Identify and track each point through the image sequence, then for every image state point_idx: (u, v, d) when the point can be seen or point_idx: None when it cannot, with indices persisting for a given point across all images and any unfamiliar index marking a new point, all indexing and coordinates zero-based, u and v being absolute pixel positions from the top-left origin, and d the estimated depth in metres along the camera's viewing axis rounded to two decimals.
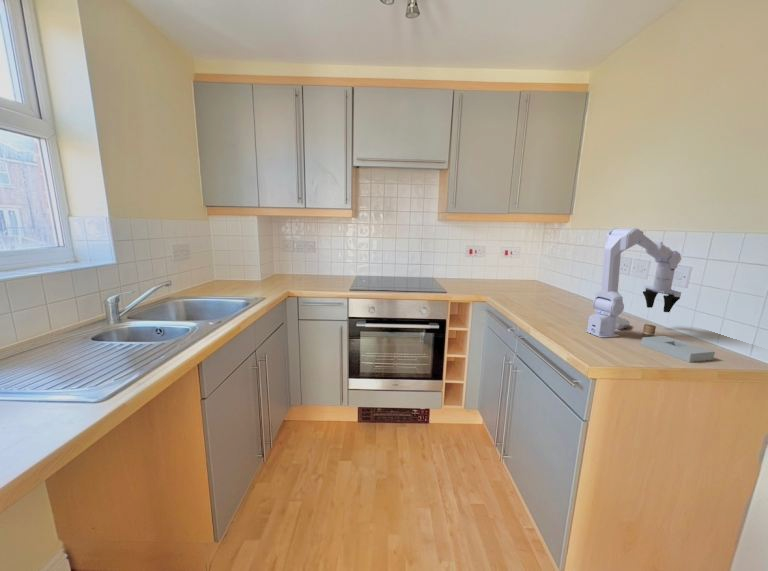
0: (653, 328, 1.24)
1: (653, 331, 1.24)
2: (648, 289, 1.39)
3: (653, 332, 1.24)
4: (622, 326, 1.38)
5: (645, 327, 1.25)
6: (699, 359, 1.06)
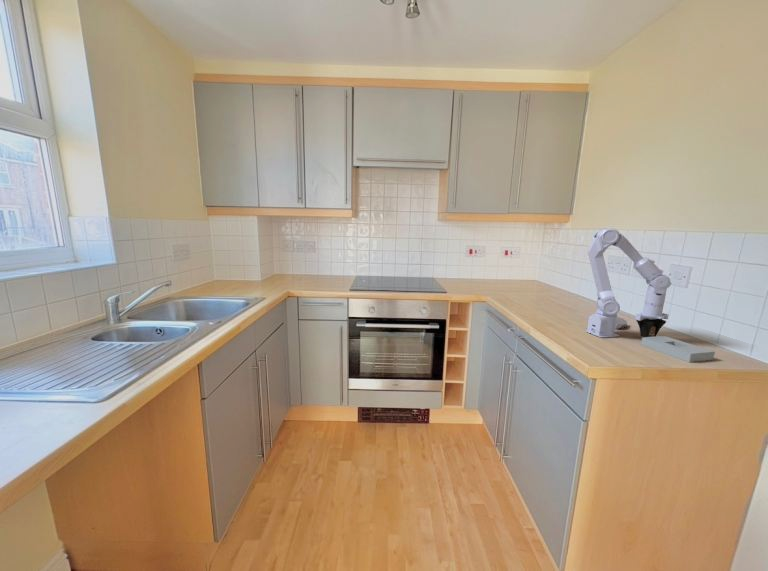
0: (653, 328, 1.24)
1: (653, 331, 1.24)
2: None
3: (653, 332, 1.24)
4: (620, 325, 1.38)
5: None
6: (699, 359, 1.06)
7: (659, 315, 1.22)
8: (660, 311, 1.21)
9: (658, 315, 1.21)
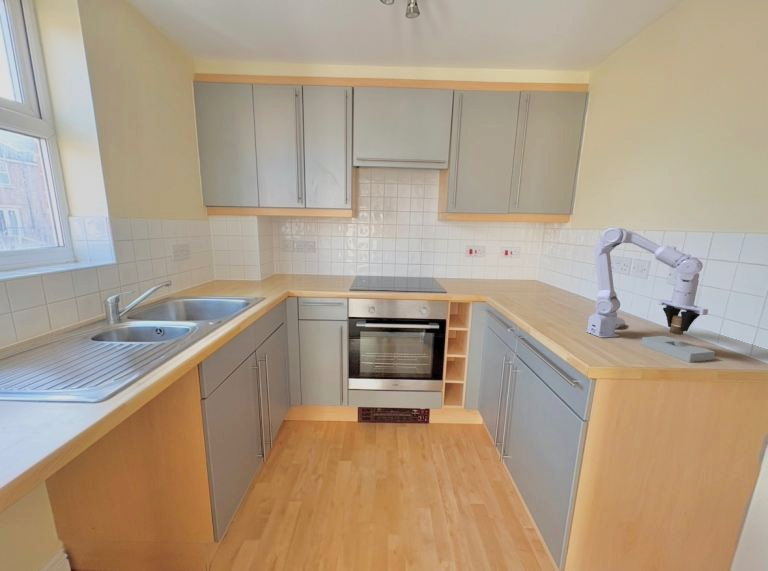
0: None
1: None
2: (664, 304, 1.17)
3: None
4: (618, 325, 1.39)
5: None
6: (699, 359, 1.06)
7: None
8: None
9: None
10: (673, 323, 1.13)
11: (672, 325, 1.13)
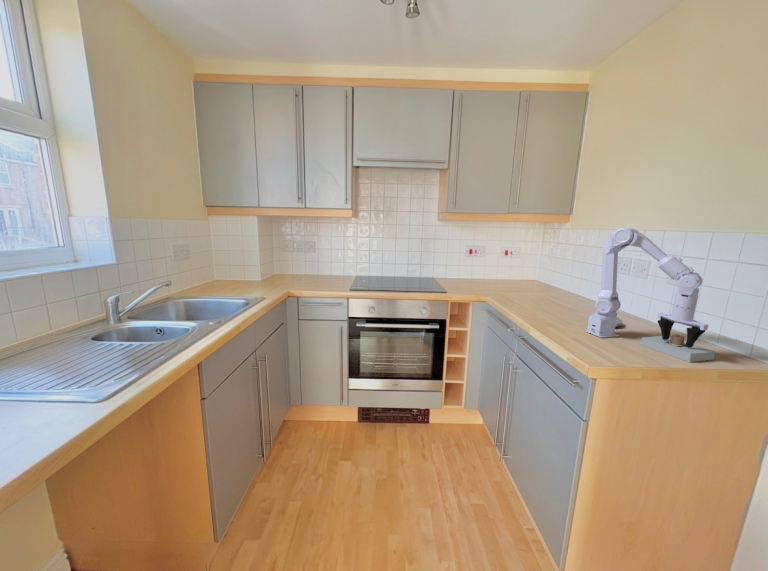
0: None
1: None
2: (663, 318, 1.17)
3: None
4: (615, 325, 1.39)
5: (681, 340, 1.11)
6: (699, 359, 1.06)
7: None
8: None
9: None
10: (672, 342, 1.13)
11: (671, 344, 1.14)
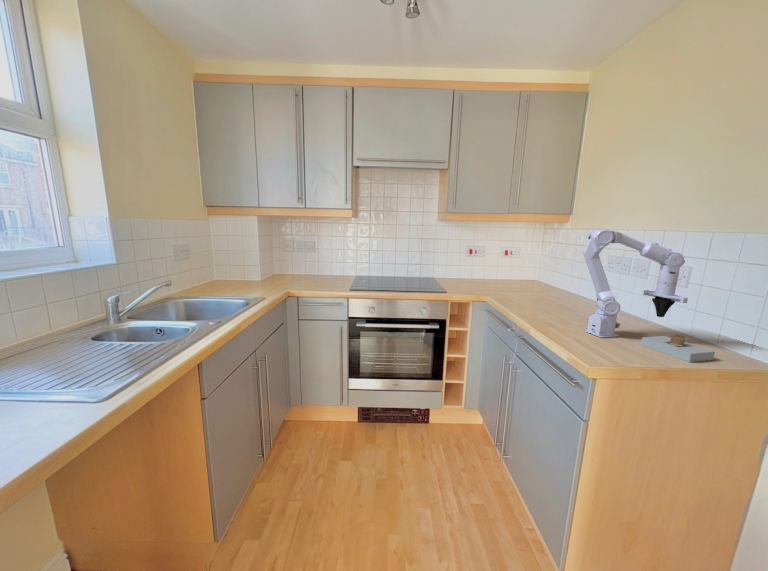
0: None
1: None
2: (648, 294, 1.28)
3: None
4: None
5: (682, 339, 1.11)
6: (699, 359, 1.06)
7: None
8: None
9: None
10: (672, 342, 1.13)
11: (671, 344, 1.14)
